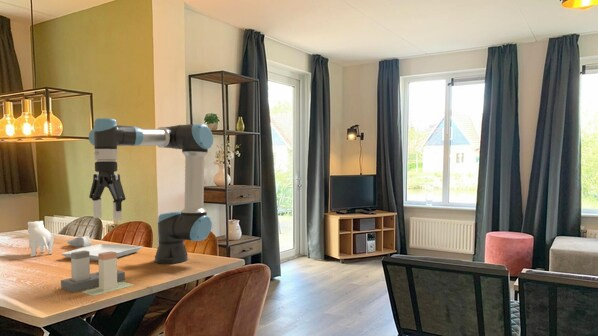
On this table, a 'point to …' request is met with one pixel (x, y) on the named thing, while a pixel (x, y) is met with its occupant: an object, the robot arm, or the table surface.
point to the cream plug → (107, 270)
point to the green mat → (98, 291)
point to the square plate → (105, 250)
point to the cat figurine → (39, 237)
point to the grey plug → (80, 266)
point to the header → (86, 282)
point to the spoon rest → (80, 242)
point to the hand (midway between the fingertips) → (107, 219)
